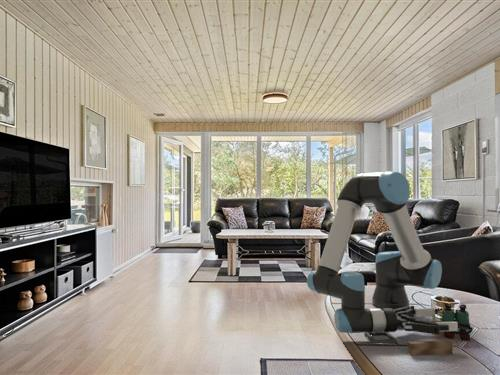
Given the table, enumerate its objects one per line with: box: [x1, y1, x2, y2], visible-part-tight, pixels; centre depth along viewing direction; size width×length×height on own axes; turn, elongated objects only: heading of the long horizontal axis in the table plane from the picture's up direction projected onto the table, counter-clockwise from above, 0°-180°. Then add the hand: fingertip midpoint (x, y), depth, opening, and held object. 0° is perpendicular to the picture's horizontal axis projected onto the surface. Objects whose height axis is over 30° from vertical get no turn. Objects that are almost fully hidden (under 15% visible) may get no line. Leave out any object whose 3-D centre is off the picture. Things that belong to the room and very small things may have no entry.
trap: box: [363, 331, 398, 344], centre depth 120 cm, size 8×8×1 cm
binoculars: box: [441, 302, 474, 342], centre depth 121 cm, size 9×11×10 cm
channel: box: [407, 315, 454, 356], centre depth 120 cm, size 13×25×4 cm, turn 2°
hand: (444, 318), depth 120 cm, fingers open, 13 cm apart
